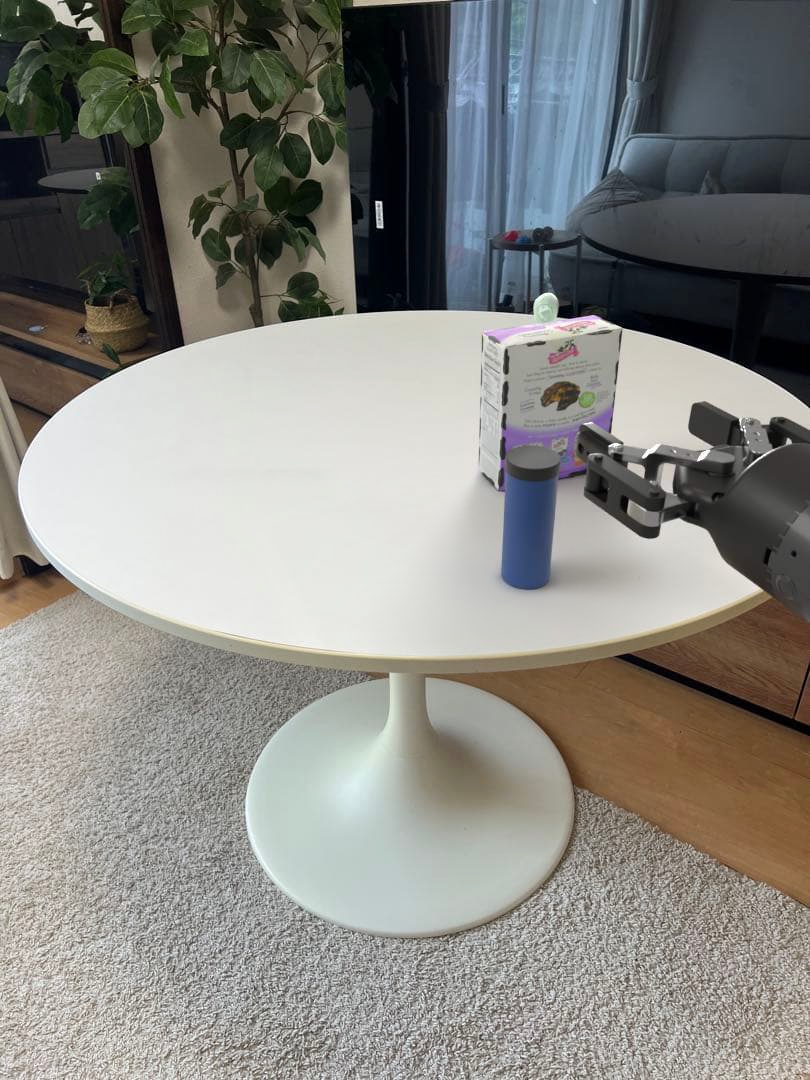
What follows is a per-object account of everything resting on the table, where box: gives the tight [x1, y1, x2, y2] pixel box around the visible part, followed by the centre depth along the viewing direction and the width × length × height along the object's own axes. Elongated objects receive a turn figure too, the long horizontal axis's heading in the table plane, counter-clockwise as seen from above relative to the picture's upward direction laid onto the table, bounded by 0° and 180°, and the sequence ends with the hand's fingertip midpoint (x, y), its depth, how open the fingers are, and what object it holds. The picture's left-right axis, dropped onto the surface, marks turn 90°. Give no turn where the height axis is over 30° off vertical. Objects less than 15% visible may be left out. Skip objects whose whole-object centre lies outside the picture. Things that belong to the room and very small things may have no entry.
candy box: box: [477, 314, 624, 492], centre depth 86 cm, size 14×6×16 cm, turn 110°
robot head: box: [533, 292, 560, 324], centre depth 132 cm, size 8×4×7 cm, turn 178°
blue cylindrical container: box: [500, 446, 561, 590], centre depth 69 cm, size 5×5×12 cm
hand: (639, 426), depth 51 cm, fingers open, 8 cm apart
